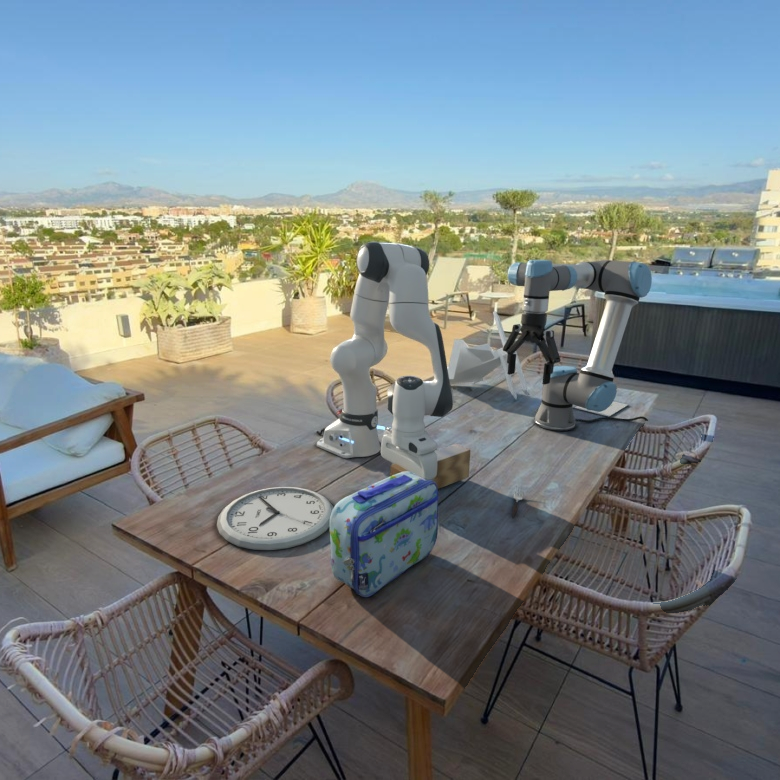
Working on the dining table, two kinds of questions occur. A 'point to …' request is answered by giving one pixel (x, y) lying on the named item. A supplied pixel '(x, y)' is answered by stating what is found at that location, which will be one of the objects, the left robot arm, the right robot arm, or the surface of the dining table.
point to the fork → (517, 498)
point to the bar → (447, 465)
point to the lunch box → (383, 531)
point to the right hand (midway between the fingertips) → (527, 378)
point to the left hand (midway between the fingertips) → (406, 482)
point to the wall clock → (275, 518)
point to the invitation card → (609, 411)
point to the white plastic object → (481, 362)
